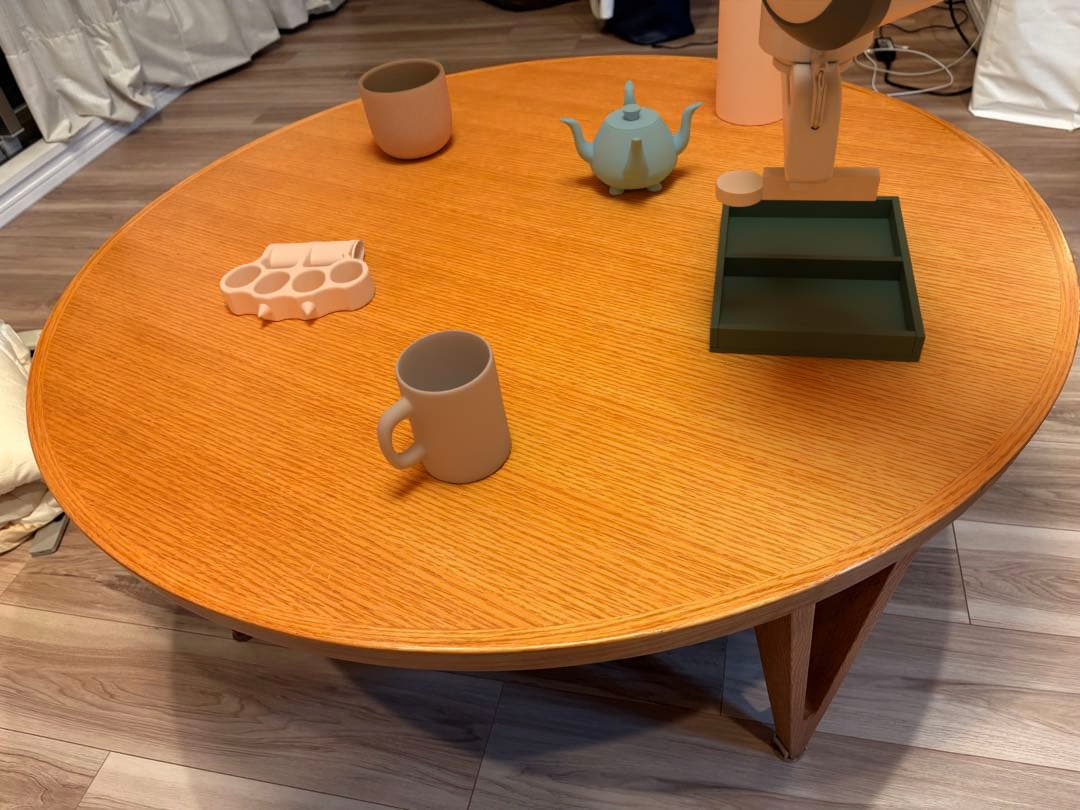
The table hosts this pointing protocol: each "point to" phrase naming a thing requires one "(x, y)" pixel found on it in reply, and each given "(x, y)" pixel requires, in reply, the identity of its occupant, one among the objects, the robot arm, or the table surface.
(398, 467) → the mug
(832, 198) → the spoon
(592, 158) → the teapot
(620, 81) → the table surface
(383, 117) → the planter
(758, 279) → the tray
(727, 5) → the tall pillar cylinder
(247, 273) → the knuckle duster
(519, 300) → the table surface
